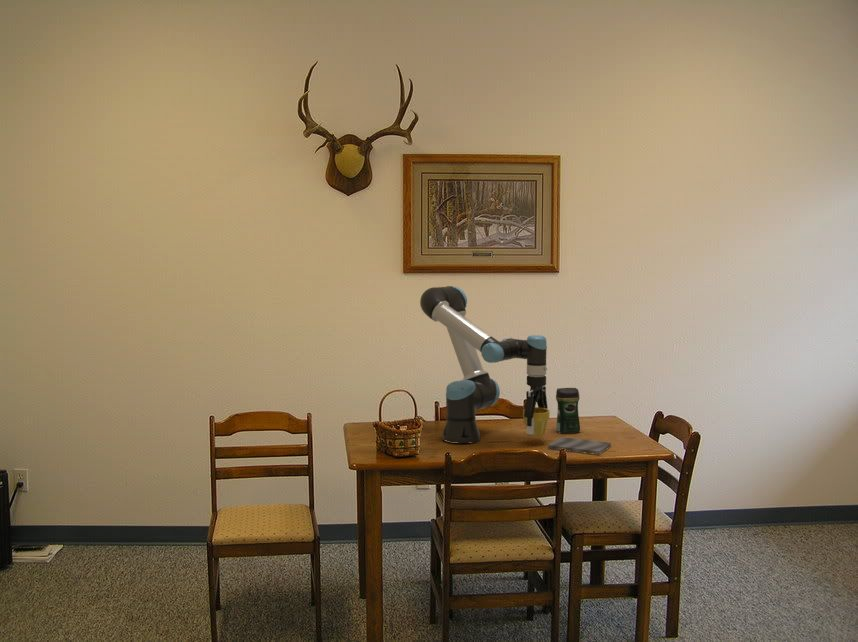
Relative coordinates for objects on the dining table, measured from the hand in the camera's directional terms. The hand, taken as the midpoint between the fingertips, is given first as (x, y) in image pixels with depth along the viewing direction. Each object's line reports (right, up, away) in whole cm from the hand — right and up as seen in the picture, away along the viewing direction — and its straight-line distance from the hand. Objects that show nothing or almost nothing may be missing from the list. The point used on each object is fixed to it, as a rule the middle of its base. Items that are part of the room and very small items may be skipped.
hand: (535, 431), depth 283 cm
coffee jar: (+16, -3, +17) cm, 24 cm away
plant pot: (0, -2, 0) cm, 2 cm away
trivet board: (+15, -5, -8) cm, 18 cm away
